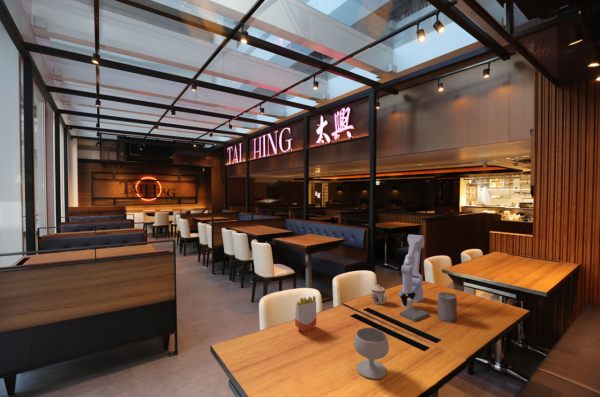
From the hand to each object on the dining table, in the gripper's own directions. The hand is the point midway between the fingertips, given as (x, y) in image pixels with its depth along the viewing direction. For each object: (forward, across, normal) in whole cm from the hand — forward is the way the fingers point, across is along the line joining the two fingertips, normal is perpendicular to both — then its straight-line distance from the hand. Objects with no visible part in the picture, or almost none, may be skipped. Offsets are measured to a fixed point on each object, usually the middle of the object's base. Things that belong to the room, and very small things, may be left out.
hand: (407, 304), depth 176 cm
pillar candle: (+2, -5, +23) cm, 24 cm away
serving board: (+1, +7, +10) cm, 12 cm away
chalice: (+2, +66, +32) cm, 73 cm away
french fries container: (+2, +70, -12) cm, 71 cm away
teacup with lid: (+2, +10, -14) cm, 17 cm away
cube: (+1, 0, 0) cm, 1 cm away
